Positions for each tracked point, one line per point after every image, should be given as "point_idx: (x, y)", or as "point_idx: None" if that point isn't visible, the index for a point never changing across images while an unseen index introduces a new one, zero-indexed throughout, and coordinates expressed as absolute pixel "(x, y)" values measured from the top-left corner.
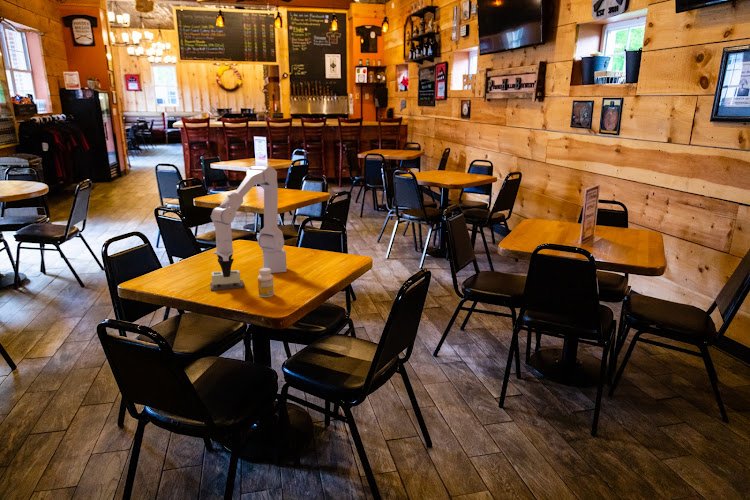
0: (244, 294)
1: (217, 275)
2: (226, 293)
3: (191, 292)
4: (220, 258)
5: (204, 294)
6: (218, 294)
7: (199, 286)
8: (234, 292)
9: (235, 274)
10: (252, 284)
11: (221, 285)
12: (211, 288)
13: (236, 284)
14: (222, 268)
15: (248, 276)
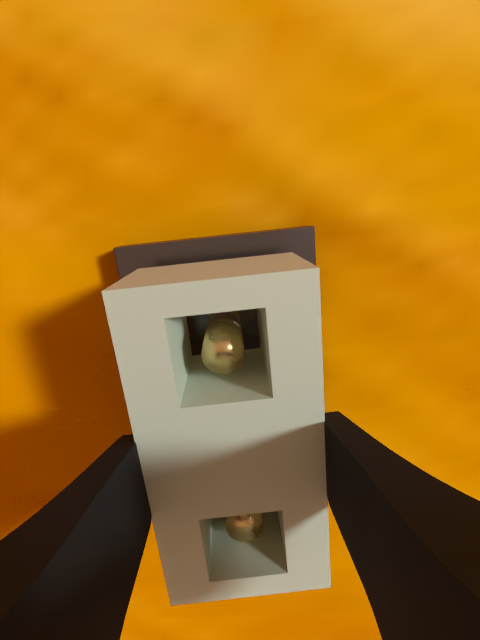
0: (11, 514)
1: (120, 370)
2: (42, 387)
3: (94, 29)
4: (452, 611)
5: (20, 190)
6: (16, 324)
7: (295, 105)
8: (65, 445)
9: (163, 562)
10: None
11: (195, 346)
12: (116, 255)
13: None
14: (18, 543)
15: None
